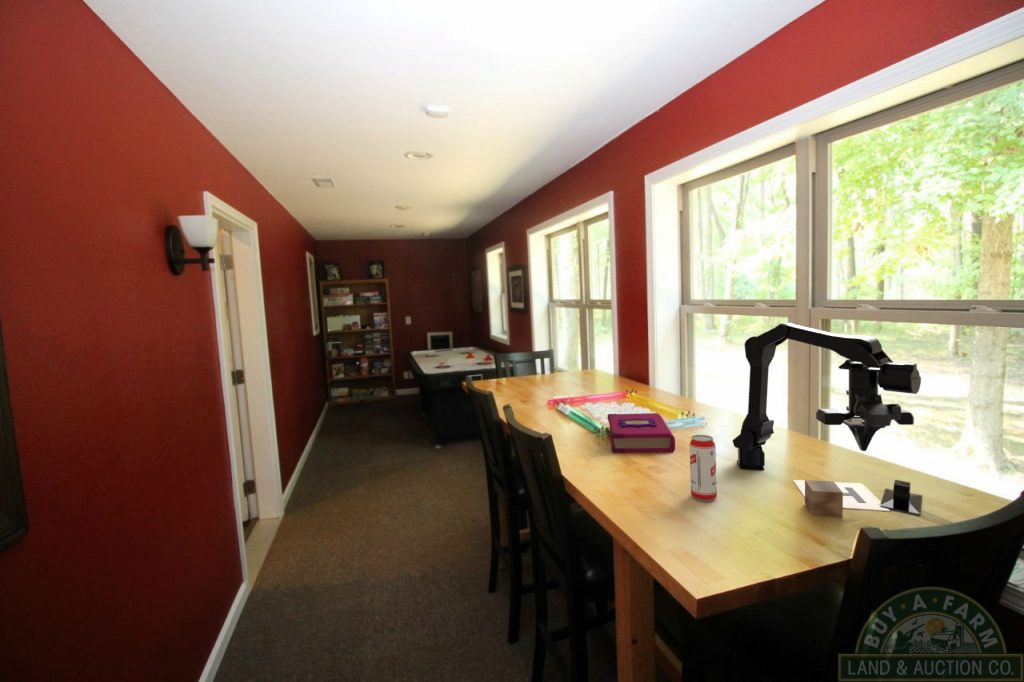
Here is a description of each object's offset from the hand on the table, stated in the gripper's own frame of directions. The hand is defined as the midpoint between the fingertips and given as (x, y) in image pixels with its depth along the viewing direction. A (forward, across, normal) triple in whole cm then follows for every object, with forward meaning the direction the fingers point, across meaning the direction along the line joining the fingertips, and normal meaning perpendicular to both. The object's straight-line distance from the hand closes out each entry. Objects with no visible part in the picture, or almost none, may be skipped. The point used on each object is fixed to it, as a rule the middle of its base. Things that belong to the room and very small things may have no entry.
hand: (863, 450), depth 114 cm
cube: (+12, -12, -8) cm, 19 cm away
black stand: (+12, +7, -2) cm, 14 cm away
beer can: (+12, -38, -3) cm, 40 cm away
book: (+13, -52, +46) cm, 70 cm away
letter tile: (+12, -5, +1) cm, 13 cm away
